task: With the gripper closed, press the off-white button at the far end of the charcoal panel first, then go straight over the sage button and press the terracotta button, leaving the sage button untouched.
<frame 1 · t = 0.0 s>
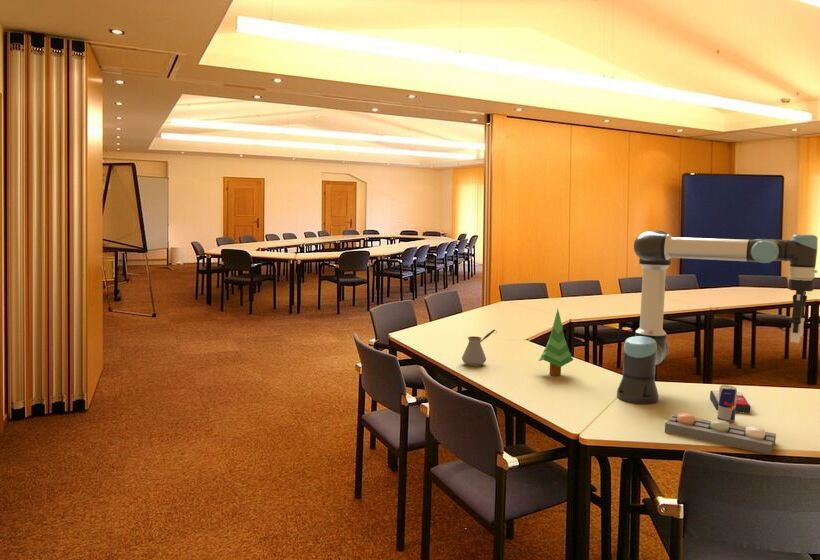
hand: (796, 339, 210), 28 cm above the table, fingers open, 13 cm apart
decorative tree: (555, 375, 265), on the table
coffee pot: (480, 363, 285), on the table
terracotta button: (685, 419, 197), point 3 cm above the table, slide at 0.0 cm
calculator: (729, 407, 225), on the table
white button: (755, 433, 185), point 3 cm above the table, slide at 0.0 cm
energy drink: (725, 421, 207), on the table
button panel: (718, 437, 192), on the table
sage button: (719, 426, 191), point 4 cm above the table, slide at 0.0 cm
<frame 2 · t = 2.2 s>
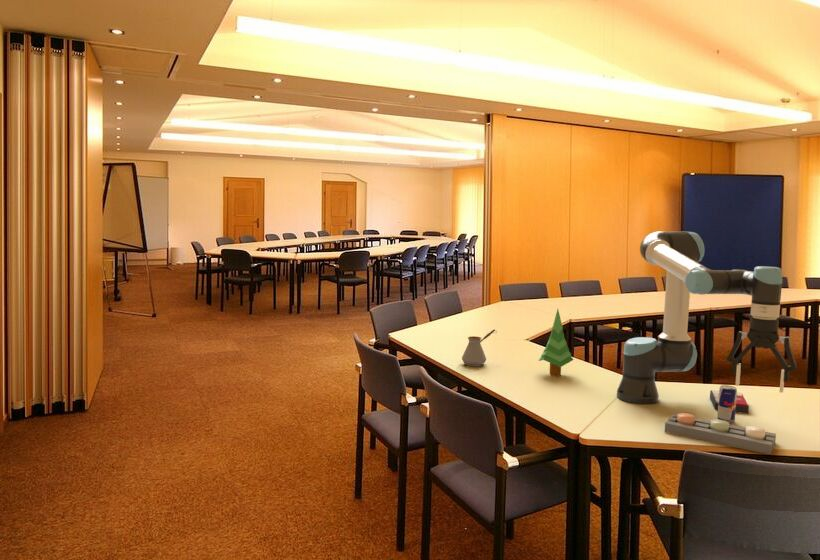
hand: (759, 387, 184), 18 cm above the table, fingers open, 11 cm apart
nothing on the table moved.
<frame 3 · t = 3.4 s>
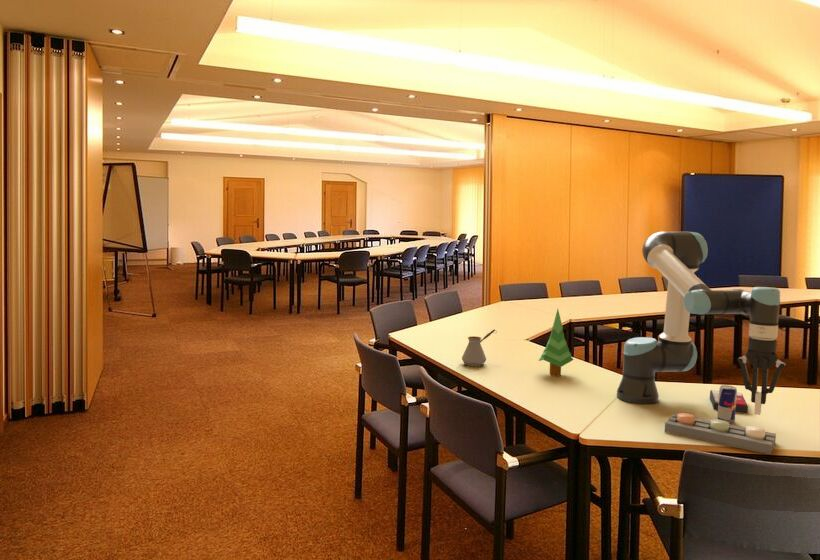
hand: (757, 413, 184), 10 cm above the table, fingers closed
nothing on the table moved.
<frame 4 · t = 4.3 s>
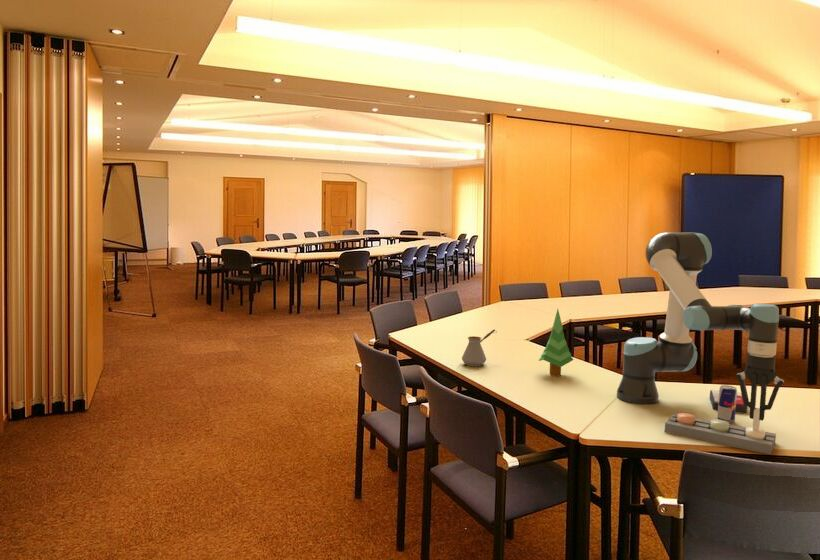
hand: (755, 429, 185), 5 cm above the table, fingers closed
white button: (755, 434, 185), point 3 cm above the table, slide at 0.3 cm, touching gripper
everything else where it was.
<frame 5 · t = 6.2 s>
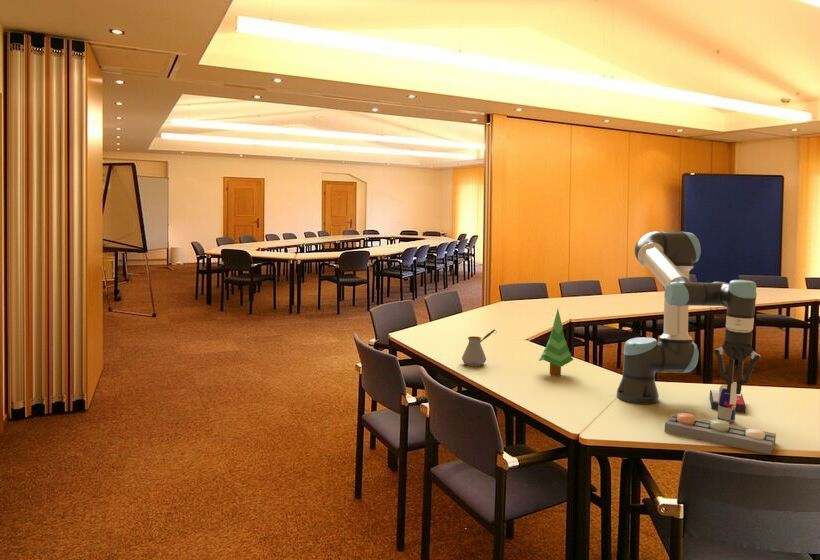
hand: (732, 403, 189), 12 cm above the table, fingers closed
white button: (755, 436, 185), point 3 cm above the table, slide at 0.7 cm
everything else where it was.
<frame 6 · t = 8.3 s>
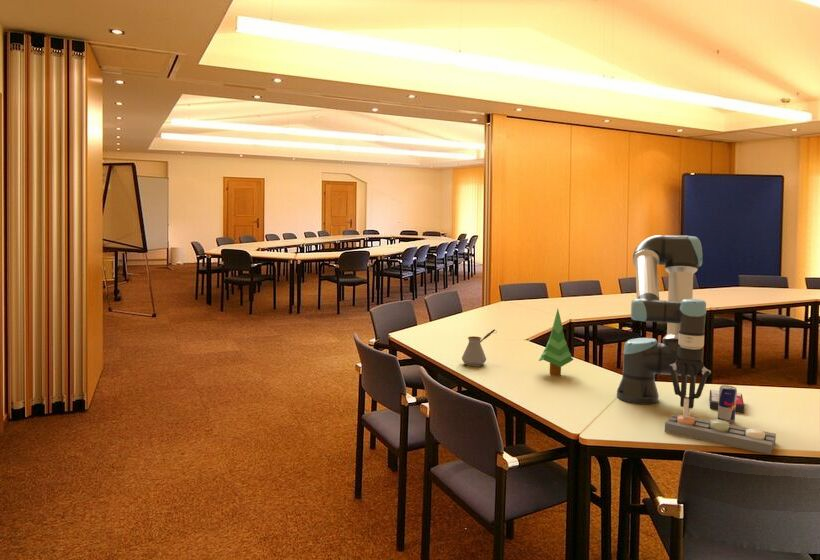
hand: (686, 417, 197), 5 cm above the table, fingers closed
terracotta button: (685, 422, 197), point 3 cm above the table, slide at 0.7 cm, touching gripper
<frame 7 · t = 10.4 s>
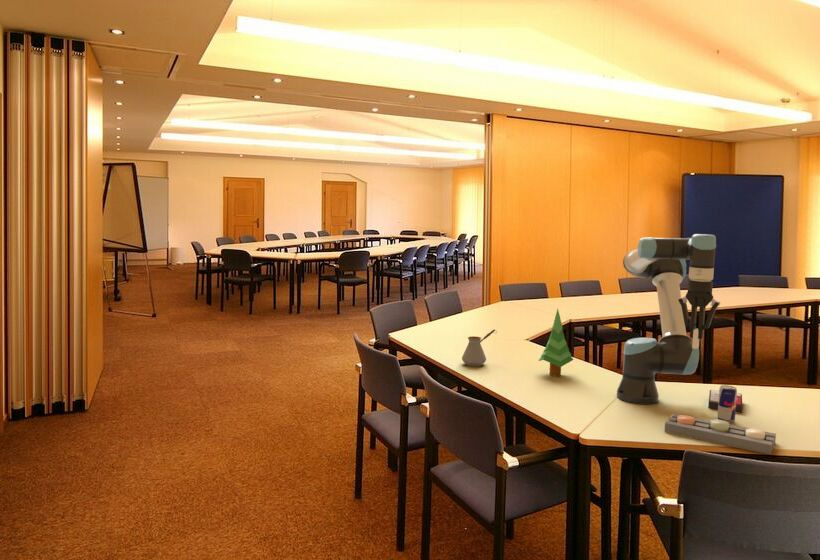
hand: (695, 347, 206), 25 cm above the table, fingers closed
terracotta button: (685, 422, 197), point 3 cm above the table, slide at 0.8 cm
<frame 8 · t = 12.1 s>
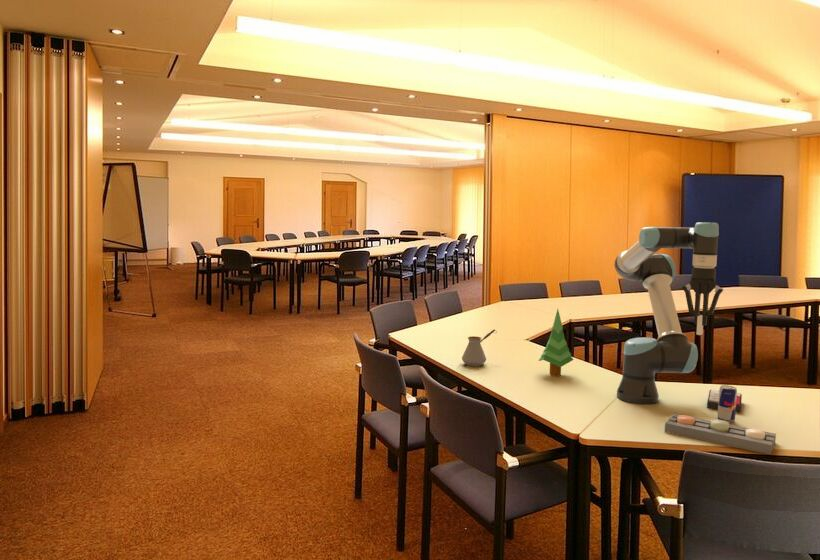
hand: (699, 334, 209), 29 cm above the table, fingers closed
at the end: white button slide at 0.7 cm; terracotta button slide at 0.8 cm; sage button slide at 0.0 cm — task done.
